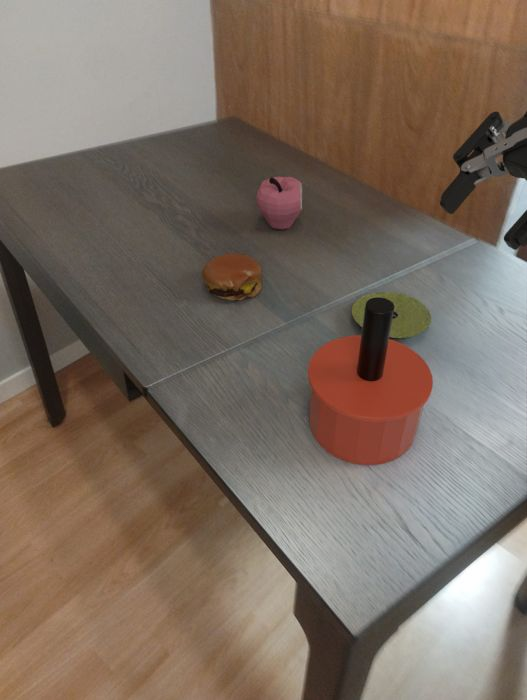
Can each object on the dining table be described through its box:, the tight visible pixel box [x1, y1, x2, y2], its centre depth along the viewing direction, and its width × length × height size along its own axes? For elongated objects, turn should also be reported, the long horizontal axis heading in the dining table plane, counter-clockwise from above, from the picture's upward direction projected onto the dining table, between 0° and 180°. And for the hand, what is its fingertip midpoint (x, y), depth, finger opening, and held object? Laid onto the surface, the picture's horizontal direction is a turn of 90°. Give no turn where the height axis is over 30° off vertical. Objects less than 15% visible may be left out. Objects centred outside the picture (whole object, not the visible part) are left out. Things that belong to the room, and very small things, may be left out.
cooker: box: [309, 387, 424, 466], centre depth 61 cm, size 12×12×8 cm
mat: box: [351, 291, 432, 339], centre depth 78 cm, size 11×11×2 cm
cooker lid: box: [307, 297, 434, 422], centre depth 56 cm, size 13×13×10 cm
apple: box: [255, 176, 303, 230], centre depth 99 cm, size 10×9×10 cm
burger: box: [201, 253, 263, 302], centre depth 85 cm, size 10×9×5 cm
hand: (475, 226), depth 52 cm, fingers open, 8 cm apart
